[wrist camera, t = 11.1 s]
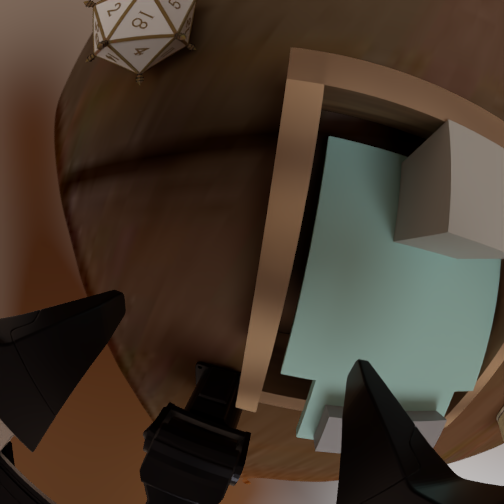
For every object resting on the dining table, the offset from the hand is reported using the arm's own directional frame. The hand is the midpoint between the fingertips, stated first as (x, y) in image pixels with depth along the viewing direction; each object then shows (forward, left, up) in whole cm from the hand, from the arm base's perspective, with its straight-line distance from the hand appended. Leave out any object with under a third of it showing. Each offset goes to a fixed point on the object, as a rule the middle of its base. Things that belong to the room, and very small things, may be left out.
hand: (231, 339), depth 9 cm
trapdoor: (-1, -9, -7) cm, 11 cm away
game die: (+15, +11, -12) cm, 22 cm away
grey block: (+5, -9, -8) cm, 13 cm away
